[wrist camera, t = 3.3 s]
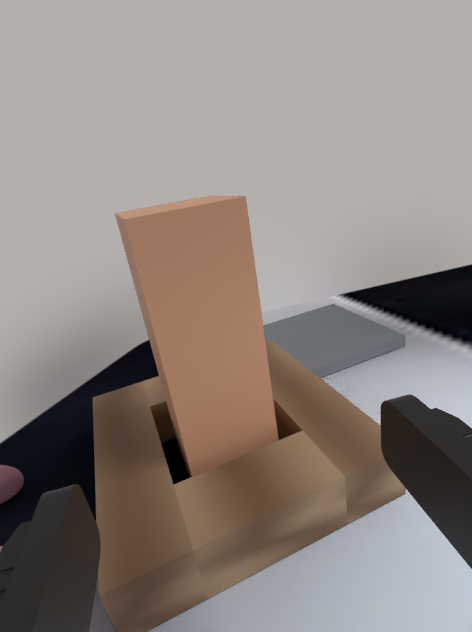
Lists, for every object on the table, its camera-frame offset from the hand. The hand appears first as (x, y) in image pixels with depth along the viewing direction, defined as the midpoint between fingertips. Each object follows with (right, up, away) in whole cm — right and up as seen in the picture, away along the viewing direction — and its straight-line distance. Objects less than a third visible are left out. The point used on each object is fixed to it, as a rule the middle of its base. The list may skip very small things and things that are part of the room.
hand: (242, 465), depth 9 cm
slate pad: (+8, +1, +24) cm, 26 cm away
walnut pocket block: (-1, -5, +13) cm, 14 cm away
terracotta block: (-1, -5, +13) cm, 14 cm away
